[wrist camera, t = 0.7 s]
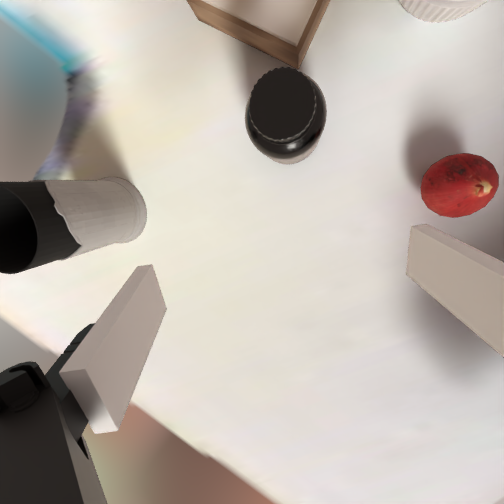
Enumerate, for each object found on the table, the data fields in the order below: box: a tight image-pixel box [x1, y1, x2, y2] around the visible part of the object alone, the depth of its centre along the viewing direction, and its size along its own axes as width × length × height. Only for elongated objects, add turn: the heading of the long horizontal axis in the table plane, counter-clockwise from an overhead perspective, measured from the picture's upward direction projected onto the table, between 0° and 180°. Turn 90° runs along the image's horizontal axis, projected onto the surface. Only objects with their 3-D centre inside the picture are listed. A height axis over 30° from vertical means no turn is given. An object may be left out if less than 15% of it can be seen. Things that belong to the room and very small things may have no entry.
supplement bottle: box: [245, 67, 327, 164], centre depth 25 cm, size 7×7×12 cm
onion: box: [421, 153, 499, 218], centre depth 26 cm, size 6×6×8 cm
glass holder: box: [0, 177, 147, 274], centre depth 30 cm, size 9×14×15 cm, turn 113°
